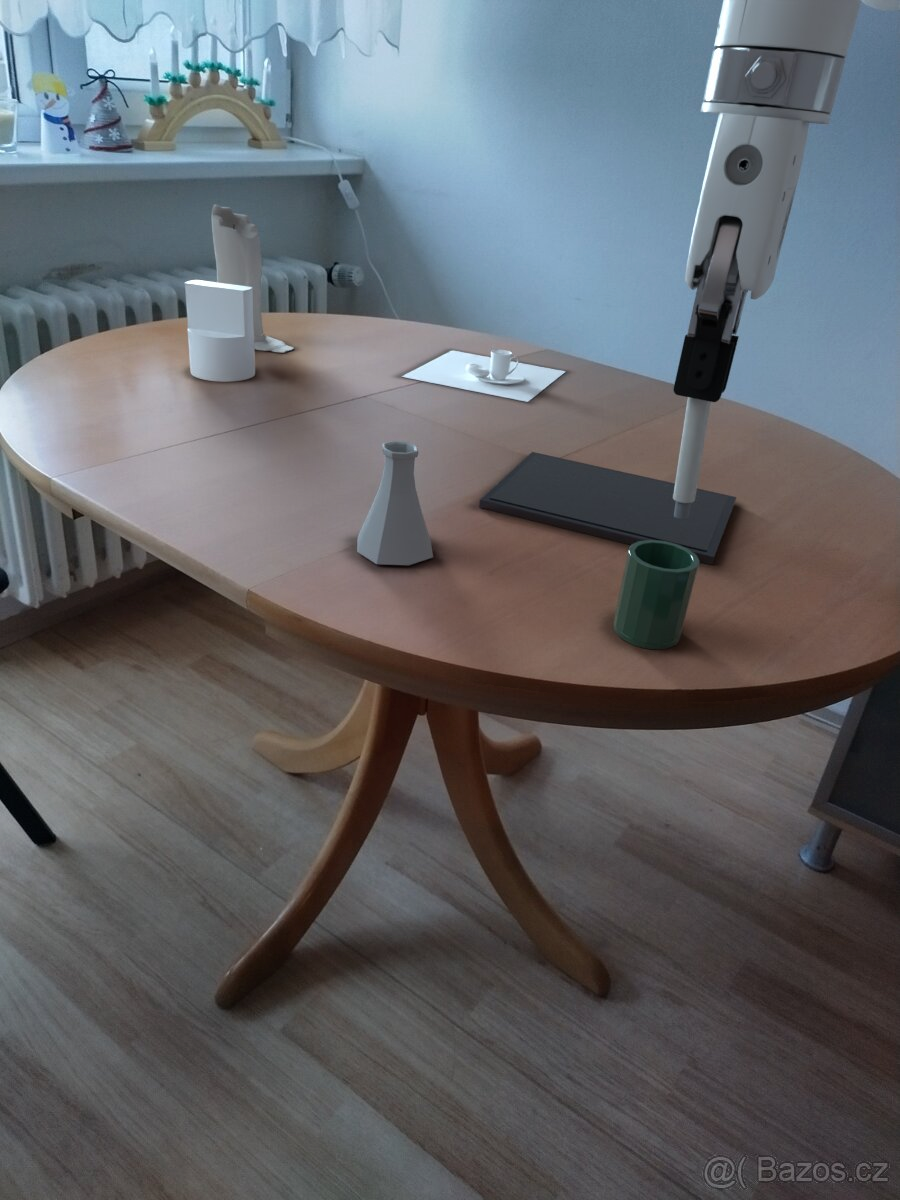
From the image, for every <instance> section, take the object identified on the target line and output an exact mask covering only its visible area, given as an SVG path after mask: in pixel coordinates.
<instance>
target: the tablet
mask: <svg viewBox="0 0 900 1200" xmlns="http://www.w3.org/2000/svg"><path fill="white" fill-rule="evenodd" d="M674 487H675V482H670V481H666V480H662V479H657V478H653V477H652V478H651V477H648V476H643V475H638V474H634V473H630V472H625V471H621V470H616V469H612V468H607V467H603V466H598V465H594V464H589V463H585V462H580V461H576V460H573V459H566V458H563V457H559V456H553V455H549V454H545V453H541V452H536V451H531V452H530V453H529V454H528V455H527V456H525V458H523V459H522V460H521V461H520V462H519V463H518V464H517V465H516V466H515V467H514V468H513V469H511V470H510V471H509V472H508V473H507V474H506V475H505V476H504V477H503V478H502V479H500V480H499V481H498V482H497V483H496V484H495V485H494V486H493V487H491V489H490V490H489V491H487V492H486V493H485V494H484V495H483V496H481V498H480V499H479V504H478V507H479V508H481V509H485V510H488V511H493V512H496V513H502V514H505V515H509V516H514V517H517V518H520V519H525V520H529V521H533V522H537V523H541V524H546V525H549V526H552V527H557V528H561V529H565V530H568V531H573V532H578V533H582V534H586V535H589V536H594V537H598V538H601V539H605V540H610V541H613V542H616V543H617V542H618V543H622V544H626V545H630V546H631V545H632V544H634V543H636V542H638V541H645V540H659V541H666V542H670V543H674V544H678V545H680V546H682V547H685V548H687V549H689V550H690V551H692V552H693V553H694V554H696V555H697V557H698V559H699V561H700V563H703V564H707V565H711V566H712V565H713V563H714V560H715V558H716V554H717V553H718V549H719V547H720V544H721V541H722V539H723V537H724V534H725V531H726V528H727V526H728V523H729V520H730V518H731V515H732V512H733V510H734V507H735V505H736V501H737V497H736V496H733V495H728V494H724V493H719V492H716V491H711V490H706V489H703V488H702V489H701V488H698V487H697V490H696V496H695V501H694V502H692V503H691V506H690V512H689V517H688V519H677V518H675V517H674V510H675V504H676V501H675V500H674V499H673V494H674Z"/></svg>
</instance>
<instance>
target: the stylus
mask: <svg viewBox="0 0 900 1200" xmlns="http://www.w3.org/2000/svg"><path fill="white" fill-rule="evenodd" d="M711 403H712V402H710V401H705V400H700V399H695V398H689V397H687V400H686V407H685V413H684V414H685V415H684V420H683V428H682V434H681V440H680V447H679V455H678V461H677V467H676V474H675V480H674V483H675V487H674V494H673V499H674V500H675V501H676V504H675V510H674V517H675V518H677V519H688V517H689V512H690V506H691V503H692V502H694V501H695V496H696V490H697V488H698V483H699V476H700V472H701V471H700V470H701V464H702V460H703V459H702V458H703V454H704V453H703V452H704V446H705V440H706V436H707V435H706V433H707V427H708V422H709V417H710V416H709V415H710V409H711Z"/></svg>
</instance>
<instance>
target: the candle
mask: <svg viewBox="0 0 900 1200" xmlns="http://www.w3.org/2000/svg"><path fill="white" fill-rule="evenodd" d="M211 231H212V242H213V249H214V256H215V257H214V258H215V266H216V282H217V283H225V284H232V285H240V286H248V287H252V296H253V326H254V337H256V338H254V350H257V351H265V352H267V351H270V352H273V353H280V354H281V353H286V352H289V351H290V352H291V351H292V350H294V349H295V348H294V347H293V346H290V345H287V344H286V342H284V341H282V340H280V339H278V338H274V337H272V336H269V335H266V333H265V332H264V328H263V327H264V326H263V315H262V314H263V313H262V277H263V257H262V252H261V242H260V241H261V239H260V235H259V228H258V225H257V224H253V223H251V218H250V216H249V215H248V214H242V213H234V212H233V210H232V207H229V206H221V205H219V204H213V206H212V208H211ZM263 333H264V334H263ZM262 334H263V335H262ZM260 335H262V336H260ZM258 336H260V337H258Z"/></svg>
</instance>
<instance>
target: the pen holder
mask: <svg viewBox="0 0 900 1200" xmlns="http://www.w3.org/2000/svg"><path fill="white" fill-rule="evenodd" d="M700 563H701V562H700V561H699V559H698V557H697V555H696V554H694V553H693V552H692V551H690V550H689V549H687V548H685V547H682V546H680V545H678V544H674V543H670V542H666V541H659V540H645V541H638V542H636V543H634V544H632V545H630V546H629V547H628V550H627V554H626V559H625V563H624V570H623V574H622V580H621V584H620V588H619V594H618V597H617V598H618V599H617V604H616V607H615V614H614V617H613V621H614V622H613V630H614V633H615V634H616V635H617V636H618V637H619V638H620V639H622V640H623V641H625V642H626V643H629V644H631V645H633V646H636V647H639V648H642V649H646V650H647V649H649V650H665V649H669V648H672V647H674V646H676V645H677V644H678V643H679V641H680V640H681V636H682V633H683V629H684V625H685V622H686V618H687V613H688V610H689V605H690V603H691V597H692V593H693V590H694V585H695V581H696V578H697V574H698V570H699V567H700Z"/></svg>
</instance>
